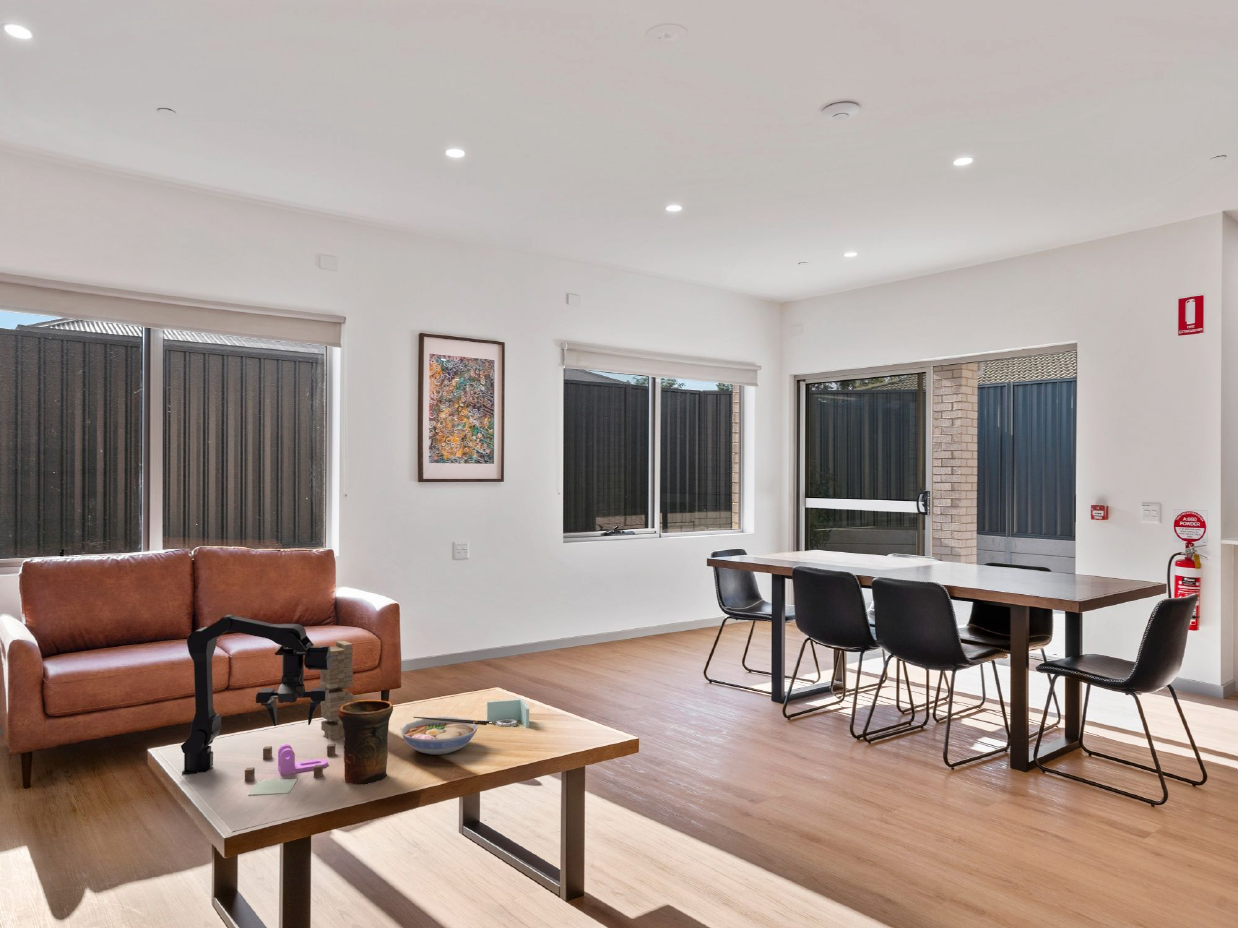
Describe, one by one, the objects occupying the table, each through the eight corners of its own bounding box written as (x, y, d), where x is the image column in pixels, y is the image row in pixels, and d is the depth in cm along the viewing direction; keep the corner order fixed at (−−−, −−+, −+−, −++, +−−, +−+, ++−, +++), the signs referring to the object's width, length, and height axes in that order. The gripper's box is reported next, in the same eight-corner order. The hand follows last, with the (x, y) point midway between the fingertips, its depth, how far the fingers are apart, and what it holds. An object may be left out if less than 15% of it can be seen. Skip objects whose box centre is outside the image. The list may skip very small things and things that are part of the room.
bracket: (280, 775, 238) (280, 750, 239) (278, 769, 243) (278, 744, 243) (329, 768, 245) (329, 743, 245) (326, 762, 249) (326, 738, 250)
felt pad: (248, 795, 224) (248, 794, 224) (259, 781, 233) (259, 780, 233) (288, 793, 225) (288, 792, 225) (297, 780, 235) (297, 778, 235)
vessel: (372, 765, 246) (372, 695, 246) (403, 777, 237) (403, 704, 237) (327, 779, 235) (327, 706, 235) (357, 792, 226) (358, 716, 226)
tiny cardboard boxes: (244, 781, 234) (244, 770, 234) (264, 756, 254) (264, 746, 254) (321, 777, 237) (321, 766, 237) (335, 753, 256) (335, 743, 256)
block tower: (318, 735, 274) (318, 643, 274) (344, 730, 280) (344, 639, 280) (328, 741, 268) (328, 647, 268) (354, 735, 274) (354, 643, 274)
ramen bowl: (381, 760, 251) (381, 731, 251) (422, 736, 273) (422, 710, 273) (459, 769, 244) (459, 740, 244) (494, 744, 266) (494, 717, 266)
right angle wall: (486, 724, 287) (487, 701, 287) (522, 721, 291) (522, 698, 291) (492, 734, 276) (492, 711, 276) (529, 731, 279) (529, 708, 279)
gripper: (250, 677, 236) (249, 734, 236) (321, 676, 239) (321, 732, 239) (261, 668, 247) (260, 722, 247) (329, 666, 250) (328, 720, 250)
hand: (292, 725), depth 245 cm, fingers open, 9 cm apart
